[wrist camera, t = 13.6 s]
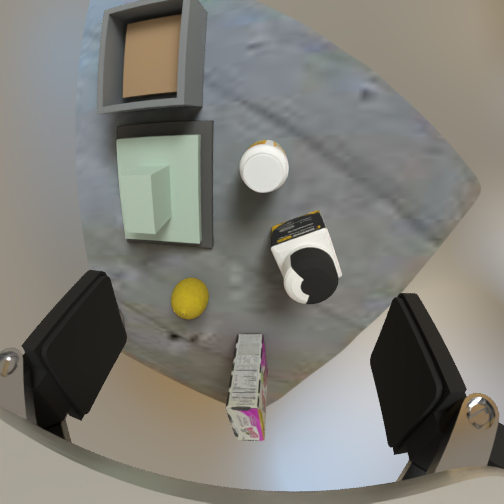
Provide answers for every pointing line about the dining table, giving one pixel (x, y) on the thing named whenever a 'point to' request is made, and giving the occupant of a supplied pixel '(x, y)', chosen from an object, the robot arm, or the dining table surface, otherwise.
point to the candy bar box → (248, 388)
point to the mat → (205, 167)
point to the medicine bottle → (306, 258)
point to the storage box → (152, 56)
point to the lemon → (189, 298)
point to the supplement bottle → (264, 166)
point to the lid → (161, 187)
